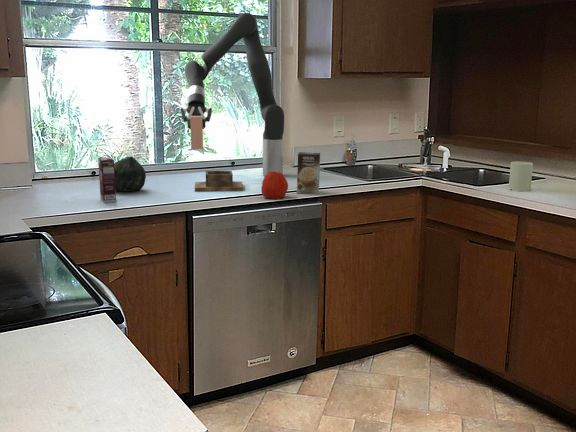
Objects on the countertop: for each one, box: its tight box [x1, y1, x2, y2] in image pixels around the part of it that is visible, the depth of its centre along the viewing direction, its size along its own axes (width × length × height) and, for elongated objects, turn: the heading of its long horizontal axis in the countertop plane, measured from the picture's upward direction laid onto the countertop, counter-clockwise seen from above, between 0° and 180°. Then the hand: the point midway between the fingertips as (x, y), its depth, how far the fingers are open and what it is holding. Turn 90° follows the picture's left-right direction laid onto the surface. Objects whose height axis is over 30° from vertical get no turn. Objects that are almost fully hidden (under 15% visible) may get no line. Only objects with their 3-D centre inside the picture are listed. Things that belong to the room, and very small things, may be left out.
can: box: [508, 160, 534, 192], centre depth 272 cm, size 9×9×12 cm
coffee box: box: [296, 151, 321, 195], centre depth 259 cm, size 9×6×16 cm
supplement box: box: [97, 156, 117, 204], centre depth 238 cm, size 9×5×16 cm, turn 24°
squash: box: [114, 156, 147, 193], centre depth 258 cm, size 14×15×15 cm
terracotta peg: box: [190, 116, 204, 150], centre depth 276 cm, size 5×5×14 cm
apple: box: [261, 171, 289, 200], centre depth 249 cm, size 10×10×10 cm
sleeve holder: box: [194, 170, 245, 192], centre depth 268 cm, size 20×15×6 cm
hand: (196, 127), depth 274 cm, fingers closed on terracotta peg, 5 cm apart
